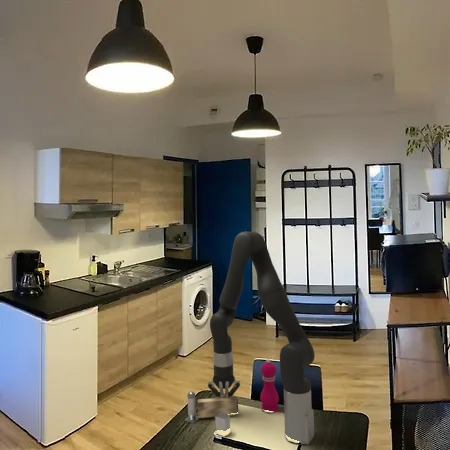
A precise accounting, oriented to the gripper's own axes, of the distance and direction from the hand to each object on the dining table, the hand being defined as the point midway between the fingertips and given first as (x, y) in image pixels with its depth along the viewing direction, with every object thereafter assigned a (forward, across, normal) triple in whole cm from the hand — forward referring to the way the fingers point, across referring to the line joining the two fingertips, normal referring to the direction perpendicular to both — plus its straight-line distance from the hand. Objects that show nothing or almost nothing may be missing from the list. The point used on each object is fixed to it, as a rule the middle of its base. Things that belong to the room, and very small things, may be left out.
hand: (224, 406), depth 168 cm
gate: (+2, +3, +3) cm, 4 cm away
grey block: (+3, +1, +14) cm, 14 cm away
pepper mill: (+3, -18, -2) cm, 18 cm away
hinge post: (+3, +12, +3) cm, 13 cm away
